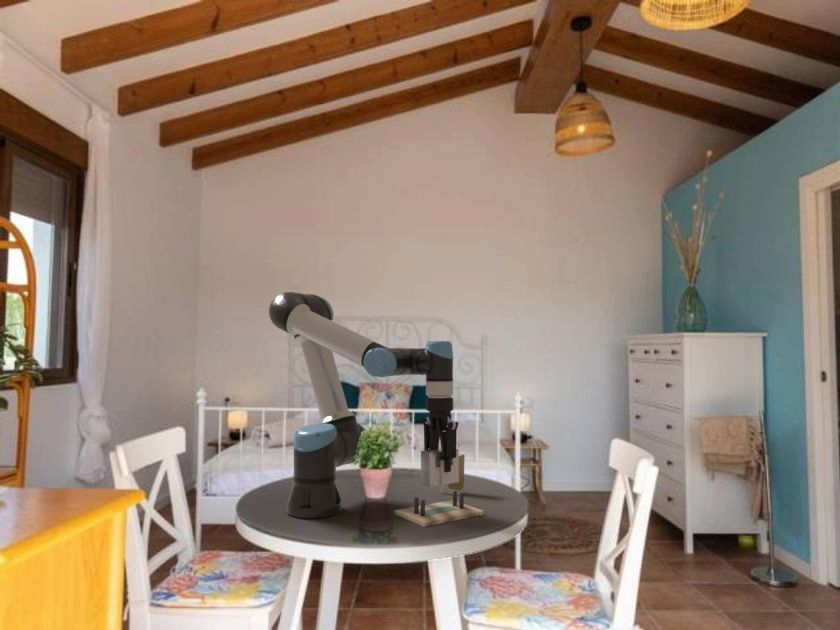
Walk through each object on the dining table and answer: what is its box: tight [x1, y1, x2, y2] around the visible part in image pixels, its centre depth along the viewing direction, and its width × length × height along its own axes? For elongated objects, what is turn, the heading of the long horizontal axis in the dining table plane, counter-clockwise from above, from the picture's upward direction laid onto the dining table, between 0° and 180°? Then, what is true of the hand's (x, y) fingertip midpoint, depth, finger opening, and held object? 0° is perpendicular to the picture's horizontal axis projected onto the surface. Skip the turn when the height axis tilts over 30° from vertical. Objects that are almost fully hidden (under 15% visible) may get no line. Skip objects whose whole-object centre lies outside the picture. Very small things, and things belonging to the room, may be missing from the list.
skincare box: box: [440, 453, 466, 496], centre depth 187 cm, size 6×4×12 cm
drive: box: [420, 447, 460, 488], centre depth 163 cm, size 10×4×9 cm, turn 125°
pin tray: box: [394, 491, 485, 528], centre depth 163 cm, size 20×14×5 cm
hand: (440, 482), depth 163 cm, fingers closed on drive, 4 cm apart
